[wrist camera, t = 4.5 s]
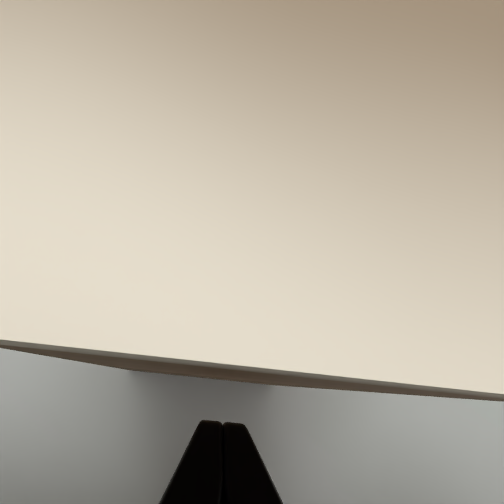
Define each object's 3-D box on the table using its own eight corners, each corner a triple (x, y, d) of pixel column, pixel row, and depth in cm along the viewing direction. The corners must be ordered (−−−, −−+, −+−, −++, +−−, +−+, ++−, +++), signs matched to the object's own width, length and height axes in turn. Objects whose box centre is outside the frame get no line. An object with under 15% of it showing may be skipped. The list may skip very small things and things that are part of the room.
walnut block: (274, 385, 16) (699, 414, 3) (127, 369, 16) (-132, 324, 2) (285, 247, 18) (615, -148, 4) (151, 228, 17) (63, -295, 4)
